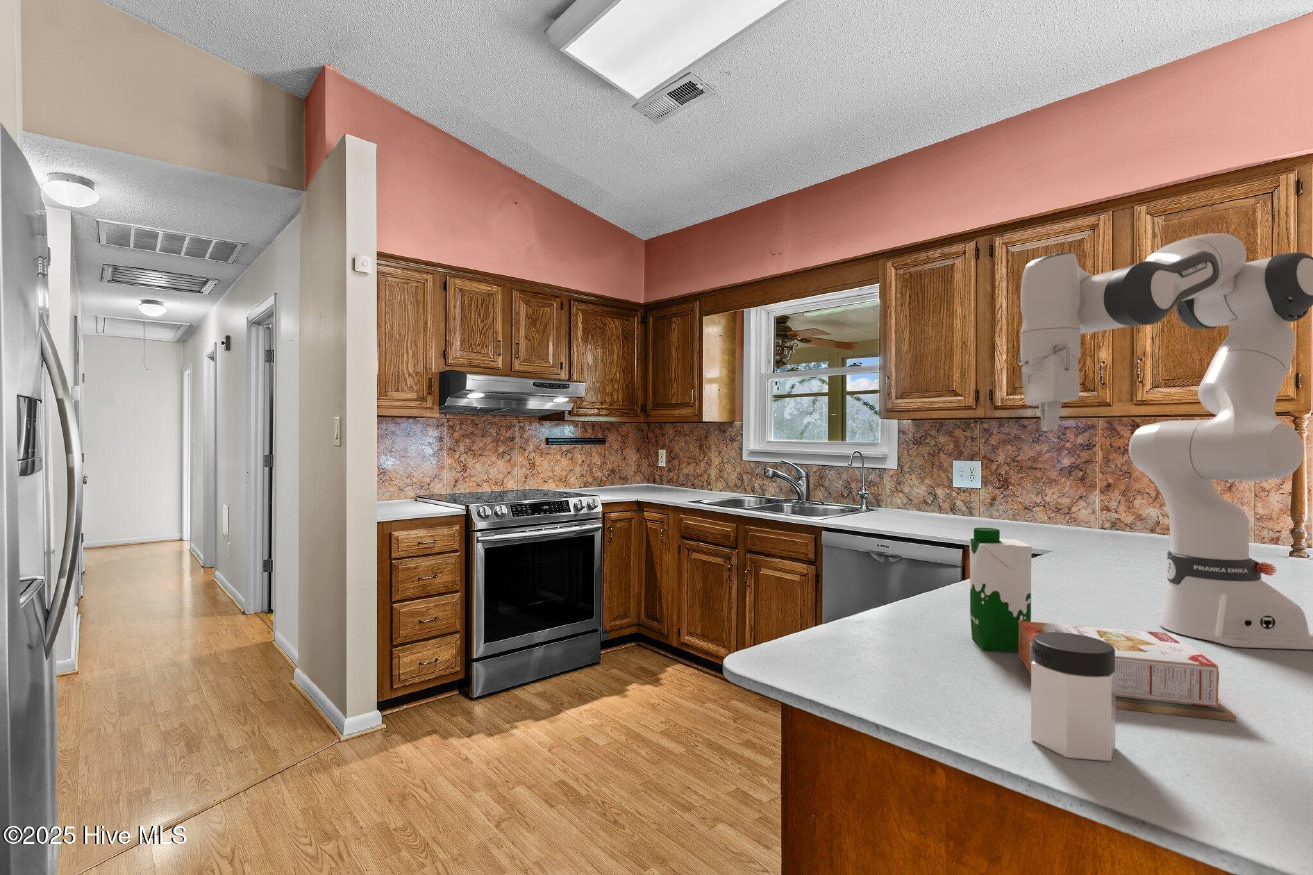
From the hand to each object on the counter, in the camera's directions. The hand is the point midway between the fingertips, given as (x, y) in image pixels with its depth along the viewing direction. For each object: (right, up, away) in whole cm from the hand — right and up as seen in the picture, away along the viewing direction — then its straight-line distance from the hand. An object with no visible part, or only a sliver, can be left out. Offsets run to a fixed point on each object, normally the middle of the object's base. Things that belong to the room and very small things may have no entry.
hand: (1049, 430), depth 111 cm
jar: (-19, -38, -35) cm, 54 cm away
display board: (-1, -37, -17) cm, 41 cm away
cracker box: (-12, -33, -14) cm, 38 cm away
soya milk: (-8, -37, +1) cm, 38 cm away
